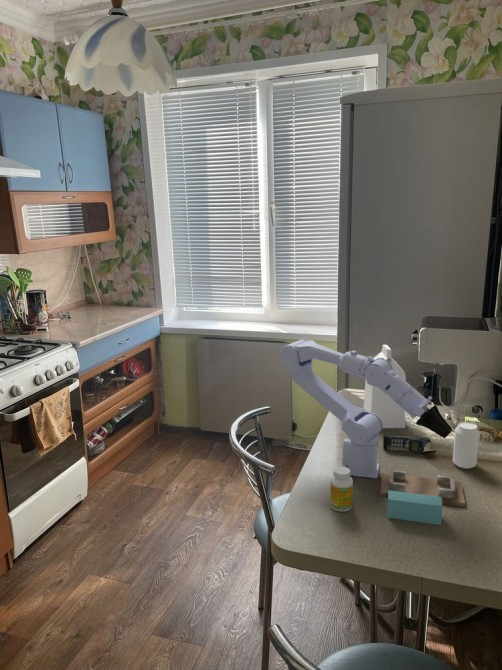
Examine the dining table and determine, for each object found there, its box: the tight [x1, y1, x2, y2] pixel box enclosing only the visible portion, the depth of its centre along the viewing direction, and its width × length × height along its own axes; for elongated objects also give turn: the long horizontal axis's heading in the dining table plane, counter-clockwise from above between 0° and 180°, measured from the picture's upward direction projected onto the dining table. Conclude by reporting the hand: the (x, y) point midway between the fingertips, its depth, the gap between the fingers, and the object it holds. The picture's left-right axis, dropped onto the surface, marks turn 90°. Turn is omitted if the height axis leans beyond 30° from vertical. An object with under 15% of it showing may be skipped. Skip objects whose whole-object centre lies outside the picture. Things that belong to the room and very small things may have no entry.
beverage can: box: [452, 421, 480, 470], centre depth 144 cm, size 6×6×12 cm
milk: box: [362, 344, 407, 429], centre depth 173 cm, size 12×12×26 cm
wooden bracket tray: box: [379, 469, 466, 508], centre depth 132 cm, size 20×10×3 cm, turn 74°
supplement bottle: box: [329, 465, 354, 513], centre depth 126 cm, size 5×5×10 cm
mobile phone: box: [382, 433, 432, 454], centre depth 154 cm, size 5×3×15 cm
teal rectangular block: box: [386, 490, 444, 526], centre depth 122 cm, size 12×4×5 cm, turn 74°
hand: (448, 434), depth 126 cm, fingers open, 7 cm apart
